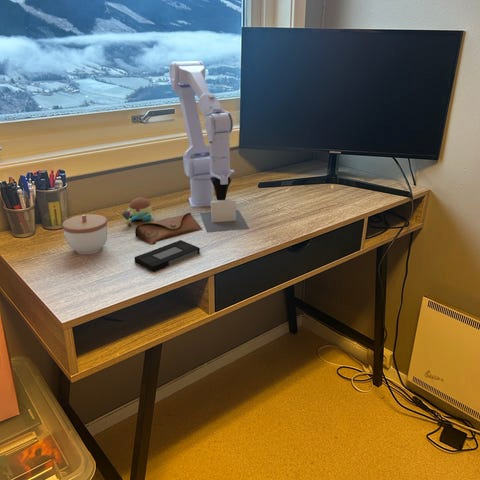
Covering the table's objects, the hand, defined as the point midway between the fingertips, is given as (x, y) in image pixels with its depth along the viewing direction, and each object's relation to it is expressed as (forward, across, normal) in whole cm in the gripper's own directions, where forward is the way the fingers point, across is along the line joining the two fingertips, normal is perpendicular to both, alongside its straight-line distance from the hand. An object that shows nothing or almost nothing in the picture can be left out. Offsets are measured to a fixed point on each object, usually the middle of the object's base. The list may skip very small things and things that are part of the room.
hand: (221, 201), depth 141 cm
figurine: (+5, +3, +25) cm, 26 cm away
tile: (+4, -4, 0) cm, 6 cm away
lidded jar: (+5, -16, +37) cm, 41 cm away
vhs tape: (+6, -26, +17) cm, 31 cm away
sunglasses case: (+6, -9, +16) cm, 19 cm away
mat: (+5, -4, 0) cm, 6 cm away
